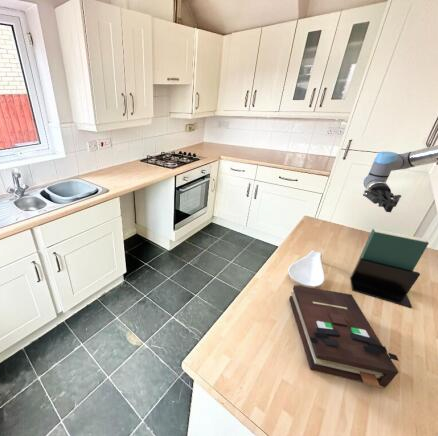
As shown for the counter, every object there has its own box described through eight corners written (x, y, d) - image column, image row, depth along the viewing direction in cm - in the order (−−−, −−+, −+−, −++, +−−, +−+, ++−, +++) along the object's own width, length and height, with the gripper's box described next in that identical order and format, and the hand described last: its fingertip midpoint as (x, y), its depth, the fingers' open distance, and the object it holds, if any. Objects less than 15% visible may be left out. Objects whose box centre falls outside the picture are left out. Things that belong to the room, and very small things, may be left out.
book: (425, 238, 82) (429, 242, 80) (398, 286, 90) (401, 291, 88) (372, 228, 89) (374, 231, 86) (352, 273, 97) (353, 277, 94)
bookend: (404, 293, 87) (419, 272, 82) (411, 308, 82) (426, 286, 77) (349, 278, 95) (360, 257, 90) (352, 290, 89) (363, 269, 84)
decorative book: (353, 288, 80) (413, 382, 55) (345, 304, 84) (397, 399, 58) (289, 278, 85) (317, 360, 59) (283, 293, 88) (307, 377, 63)
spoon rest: (317, 297, 86) (323, 282, 83) (281, 282, 93) (286, 268, 90) (329, 265, 102) (335, 251, 98) (298, 254, 109) (303, 240, 105)
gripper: (392, 200, 114) (407, 221, 96) (357, 194, 120) (365, 213, 102) (400, 184, 110) (416, 203, 92) (364, 180, 116) (372, 197, 98)
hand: (389, 209), depth 97 cm, fingers closed
